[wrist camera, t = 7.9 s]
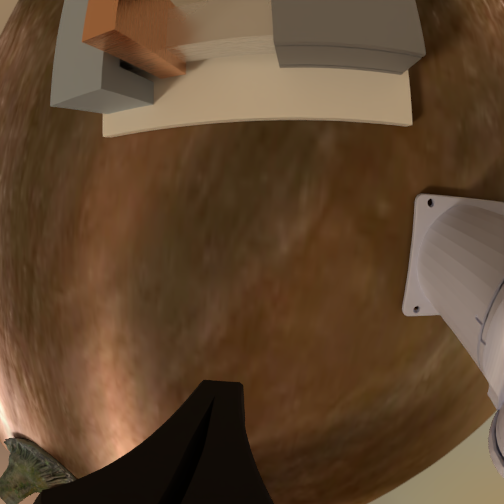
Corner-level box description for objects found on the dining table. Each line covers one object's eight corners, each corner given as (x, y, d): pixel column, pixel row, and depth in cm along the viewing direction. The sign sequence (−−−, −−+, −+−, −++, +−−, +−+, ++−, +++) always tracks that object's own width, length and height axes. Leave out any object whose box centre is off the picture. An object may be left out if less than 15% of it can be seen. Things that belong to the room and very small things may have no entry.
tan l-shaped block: (301, 7, 13) (298, -74, 6) (306, 65, 14) (309, -2, 7) (121, 36, 15) (45, -3, 7) (117, 88, 16) (32, 66, 8)
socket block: (157, 11, 14) (115, -25, 9) (153, 104, 16) (101, 88, 11) (113, 24, 15) (65, -2, 9) (107, 114, 17) (50, 106, 11)
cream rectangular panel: (388, -9, 12) (408, -47, 8) (406, 126, 15) (441, 116, 10) (117, 14, 15) (78, -9, 10) (111, 137, 18) (63, 135, 13)
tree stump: (100, 500, 40) (56, 547, 25) (50, 459, 48) (10, 496, 33) (54, 454, 34) (-3, 507, 19) (11, 410, 42) (-37, 450, 27)
